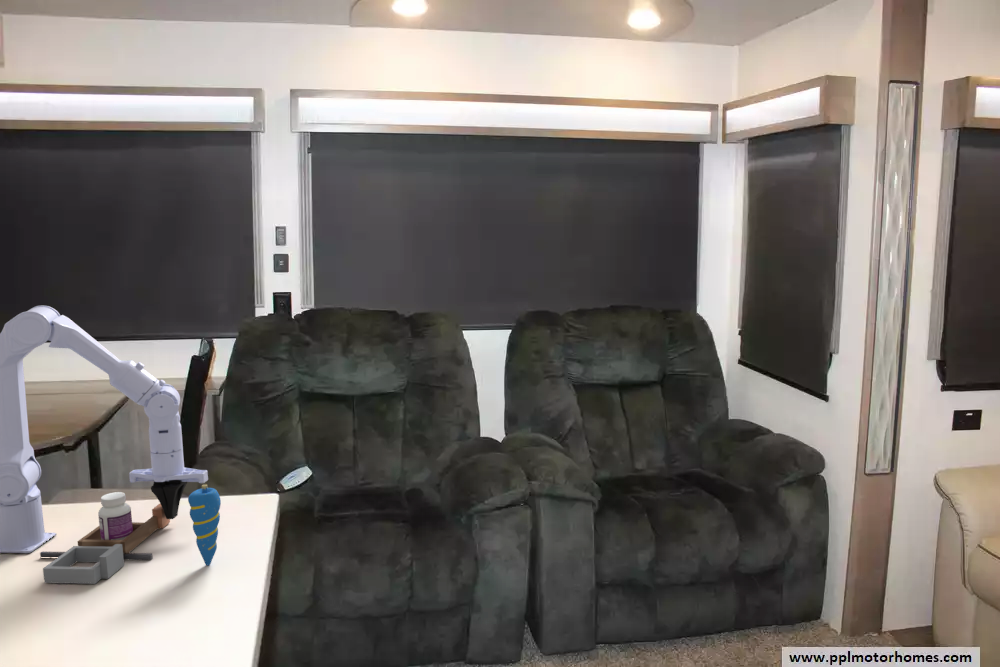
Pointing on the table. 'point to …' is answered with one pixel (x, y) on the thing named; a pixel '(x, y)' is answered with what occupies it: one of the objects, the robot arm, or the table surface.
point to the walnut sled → (134, 538)
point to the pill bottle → (115, 517)
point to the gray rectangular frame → (103, 569)
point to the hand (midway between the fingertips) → (172, 517)
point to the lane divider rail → (125, 555)
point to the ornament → (205, 520)
